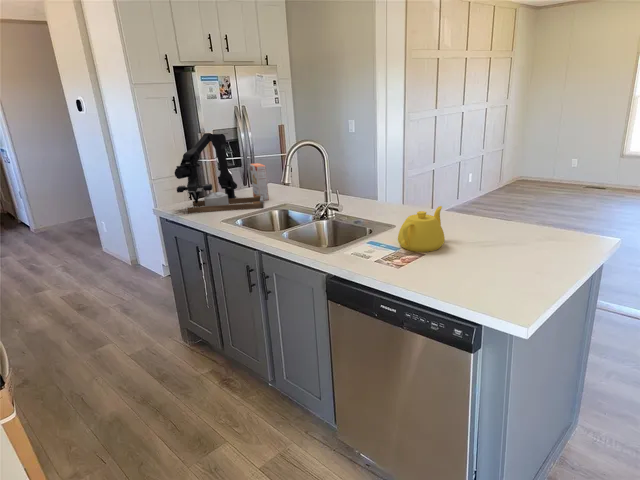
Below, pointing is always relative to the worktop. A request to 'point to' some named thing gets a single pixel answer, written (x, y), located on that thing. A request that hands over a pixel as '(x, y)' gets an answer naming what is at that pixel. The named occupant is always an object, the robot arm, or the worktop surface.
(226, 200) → the lumpy-topped squat cylinder
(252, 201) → the guide rails
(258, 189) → the cracker box
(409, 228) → the teapot
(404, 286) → the worktop surface
